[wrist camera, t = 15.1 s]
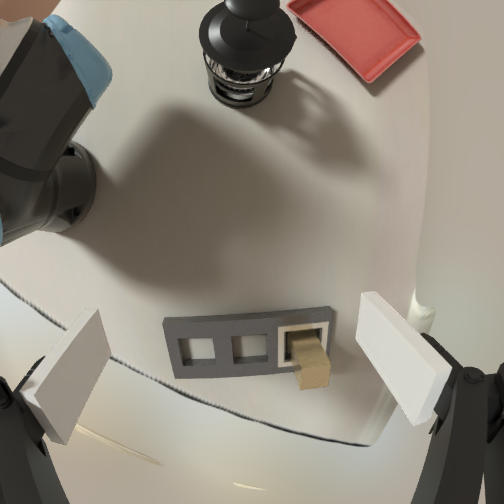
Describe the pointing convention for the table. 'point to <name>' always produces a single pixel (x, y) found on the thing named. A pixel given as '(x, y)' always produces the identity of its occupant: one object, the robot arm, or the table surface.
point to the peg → (308, 359)
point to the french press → (245, 48)
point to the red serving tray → (359, 31)
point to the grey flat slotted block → (239, 326)
